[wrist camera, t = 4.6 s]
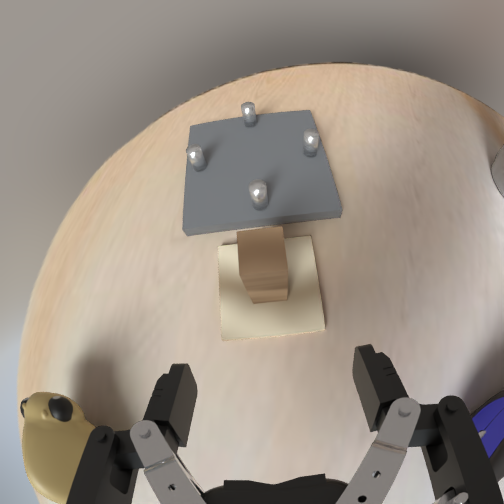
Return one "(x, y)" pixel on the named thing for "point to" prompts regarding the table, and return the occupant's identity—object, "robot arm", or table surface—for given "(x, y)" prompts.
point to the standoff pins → (256, 186)
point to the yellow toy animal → (53, 442)
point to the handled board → (271, 313)
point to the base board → (257, 175)
